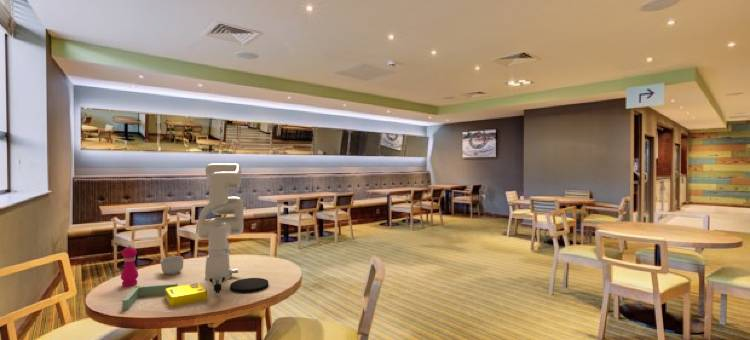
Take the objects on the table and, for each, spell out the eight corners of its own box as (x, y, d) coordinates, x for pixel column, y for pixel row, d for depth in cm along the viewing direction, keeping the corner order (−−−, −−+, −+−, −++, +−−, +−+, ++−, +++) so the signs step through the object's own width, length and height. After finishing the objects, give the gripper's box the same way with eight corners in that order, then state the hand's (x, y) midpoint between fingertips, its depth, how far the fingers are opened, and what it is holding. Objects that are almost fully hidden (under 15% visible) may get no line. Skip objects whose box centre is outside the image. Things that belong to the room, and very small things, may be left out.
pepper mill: (129, 287, 182) (129, 246, 181) (117, 286, 183) (116, 245, 183) (141, 283, 189) (141, 243, 188) (129, 281, 190) (129, 242, 190)
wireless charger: (266, 292, 177) (266, 288, 177) (226, 294, 174) (226, 290, 174) (270, 280, 195) (270, 277, 195) (233, 282, 192) (233, 278, 192)
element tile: (164, 297, 170) (164, 287, 170) (199, 291, 179) (199, 280, 179) (170, 308, 158) (170, 296, 158) (208, 300, 167) (208, 289, 167)
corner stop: (177, 291, 177) (177, 283, 177) (169, 305, 160) (169, 296, 160) (135, 295, 171) (135, 286, 171) (122, 310, 154) (122, 300, 154)
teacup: (187, 272, 208) (187, 257, 207) (167, 277, 198) (167, 262, 198) (173, 268, 215) (173, 254, 215) (153, 272, 206) (153, 258, 206)
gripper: (235, 249, 178) (235, 288, 179) (200, 251, 173) (200, 291, 174) (234, 253, 171) (234, 293, 171) (198, 255, 166) (198, 296, 167)
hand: (217, 292), depth 173 cm, fingers closed
